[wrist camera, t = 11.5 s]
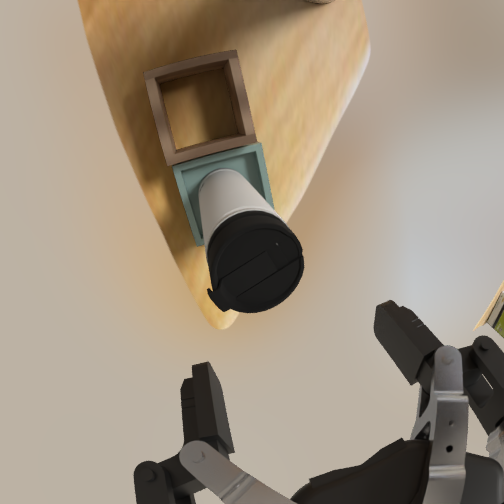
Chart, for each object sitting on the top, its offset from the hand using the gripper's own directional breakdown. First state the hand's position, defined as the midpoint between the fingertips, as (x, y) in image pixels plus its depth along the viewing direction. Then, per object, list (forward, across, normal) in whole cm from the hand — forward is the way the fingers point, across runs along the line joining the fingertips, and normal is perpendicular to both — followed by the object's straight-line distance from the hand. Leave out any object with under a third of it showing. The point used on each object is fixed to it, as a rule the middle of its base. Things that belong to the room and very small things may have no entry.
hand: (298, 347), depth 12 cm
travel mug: (+26, 0, 0) cm, 26 cm away
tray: (+26, 0, 0) cm, 26 cm away
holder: (+27, +1, -11) cm, 29 cm away
